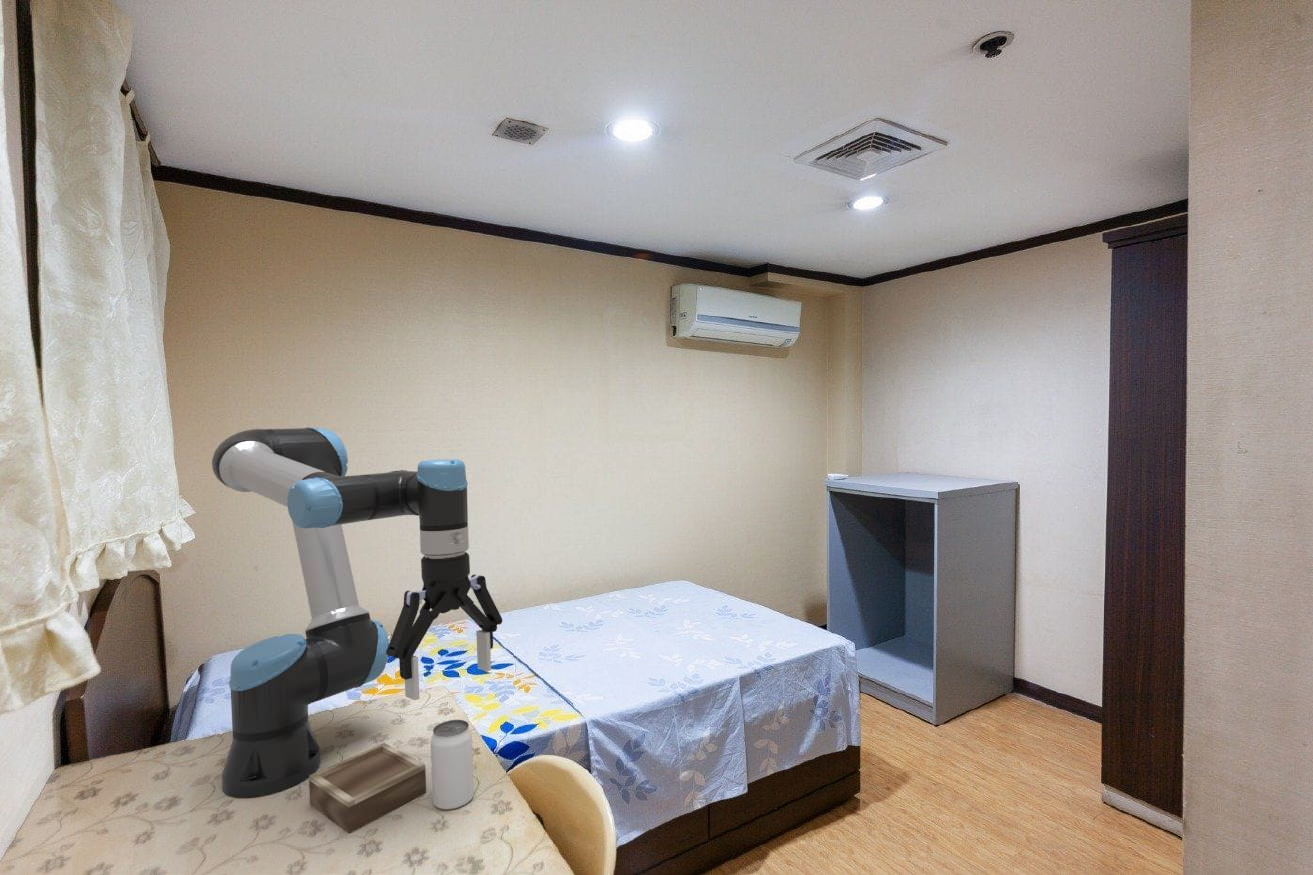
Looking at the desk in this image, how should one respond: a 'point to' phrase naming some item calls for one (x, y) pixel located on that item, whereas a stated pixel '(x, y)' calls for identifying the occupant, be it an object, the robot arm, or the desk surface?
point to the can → (452, 765)
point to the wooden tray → (367, 786)
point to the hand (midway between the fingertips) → (450, 682)
